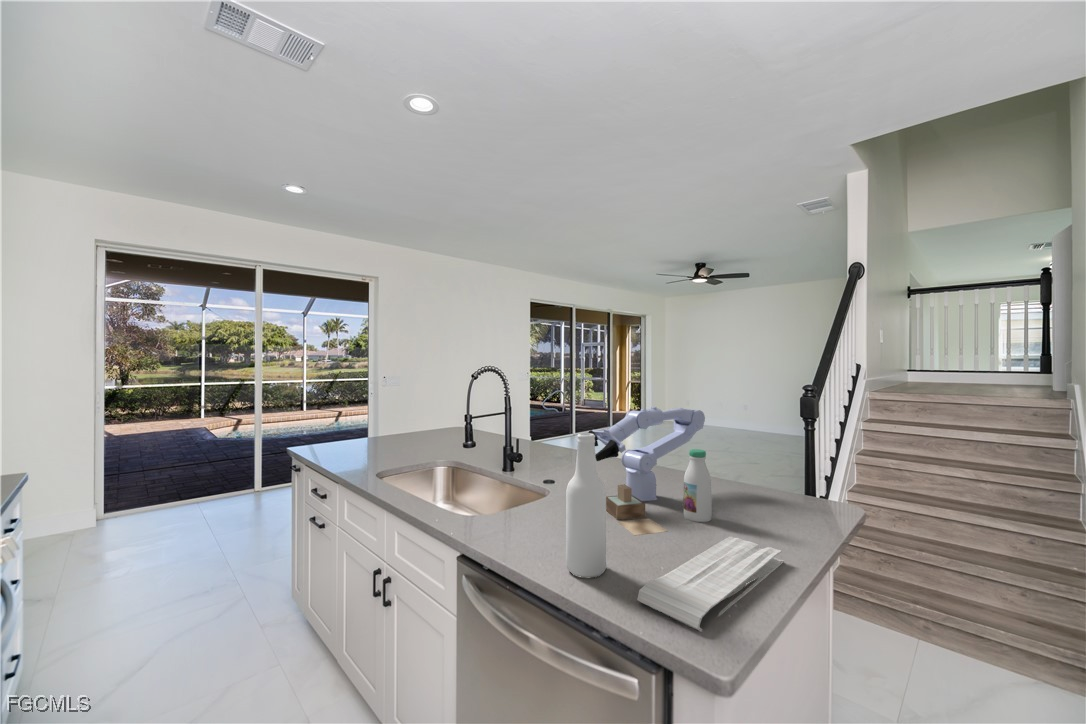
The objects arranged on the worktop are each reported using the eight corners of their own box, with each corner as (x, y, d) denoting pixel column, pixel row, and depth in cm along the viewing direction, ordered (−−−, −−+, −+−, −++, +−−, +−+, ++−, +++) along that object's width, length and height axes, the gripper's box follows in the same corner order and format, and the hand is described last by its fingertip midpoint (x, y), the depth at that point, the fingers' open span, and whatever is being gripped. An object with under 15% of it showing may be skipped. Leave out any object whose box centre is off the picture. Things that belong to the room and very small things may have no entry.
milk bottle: (707, 514, 133) (707, 448, 133) (714, 523, 125) (714, 453, 125) (681, 513, 134) (681, 447, 134) (686, 522, 126) (686, 452, 126)
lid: (630, 497, 138) (630, 482, 138) (642, 505, 130) (642, 489, 130) (607, 499, 136) (607, 484, 136) (618, 507, 128) (618, 491, 128)
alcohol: (580, 557, 104) (580, 429, 104) (613, 568, 98) (613, 433, 98) (558, 571, 97) (558, 434, 97) (591, 583, 92) (591, 439, 91)
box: (631, 508, 139) (631, 494, 139) (645, 517, 130) (645, 503, 130) (604, 510, 136) (604, 496, 136) (617, 520, 128) (617, 505, 127)
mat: (649, 519, 129) (649, 518, 129) (667, 532, 119) (667, 531, 119) (617, 522, 126) (617, 521, 126) (634, 536, 116) (634, 535, 116)
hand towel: (785, 547, 101) (697, 616, 74) (785, 563, 101) (697, 639, 74) (731, 531, 110) (636, 588, 84) (731, 547, 110) (636, 608, 84)
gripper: (601, 415, 149) (571, 435, 142) (633, 429, 137) (601, 451, 131) (605, 433, 151) (575, 453, 145) (636, 448, 140) (605, 470, 134)
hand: (588, 453), depth 138 cm, fingers open, 7 cm apart
